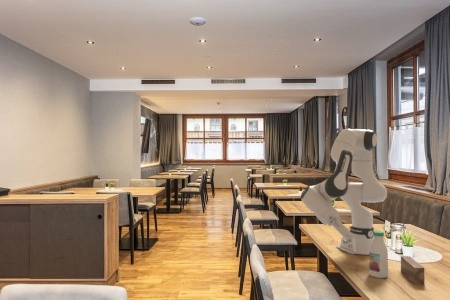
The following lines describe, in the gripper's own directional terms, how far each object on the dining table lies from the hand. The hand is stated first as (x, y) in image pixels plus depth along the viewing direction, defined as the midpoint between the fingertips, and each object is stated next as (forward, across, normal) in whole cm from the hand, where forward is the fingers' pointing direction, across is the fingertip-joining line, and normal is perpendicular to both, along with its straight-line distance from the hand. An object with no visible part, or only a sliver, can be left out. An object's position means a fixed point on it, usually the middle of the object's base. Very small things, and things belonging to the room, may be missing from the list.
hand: (350, 237), depth 169 cm
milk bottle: (+21, +1, +3) cm, 21 cm away
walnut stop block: (+30, 0, -7) cm, 31 cm away
